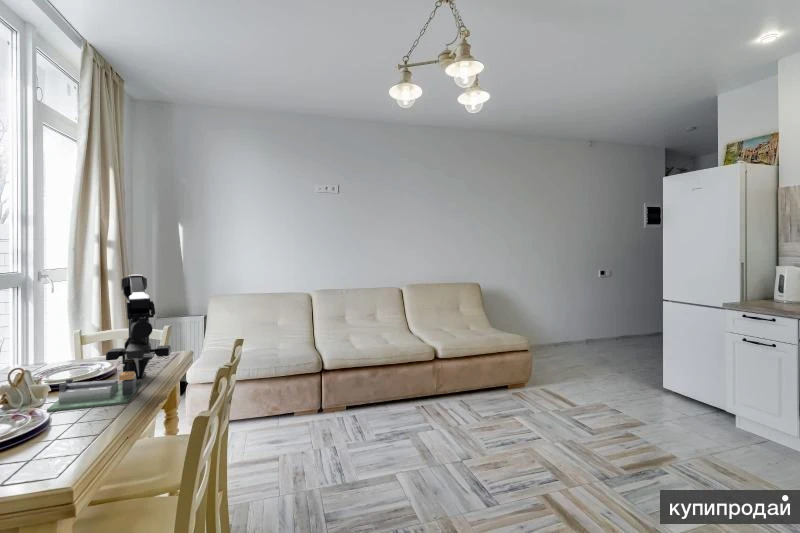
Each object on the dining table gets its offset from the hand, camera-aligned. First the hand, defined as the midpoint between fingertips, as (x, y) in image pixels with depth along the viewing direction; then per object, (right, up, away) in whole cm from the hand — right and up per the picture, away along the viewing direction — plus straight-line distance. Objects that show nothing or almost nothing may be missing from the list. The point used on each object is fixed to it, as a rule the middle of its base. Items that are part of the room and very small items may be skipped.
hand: (139, 376), depth 140 cm
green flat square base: (-11, -6, -4) cm, 13 cm away
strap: (-13, -2, -5) cm, 14 cm away
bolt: (-3, 0, -1) cm, 4 cm away
